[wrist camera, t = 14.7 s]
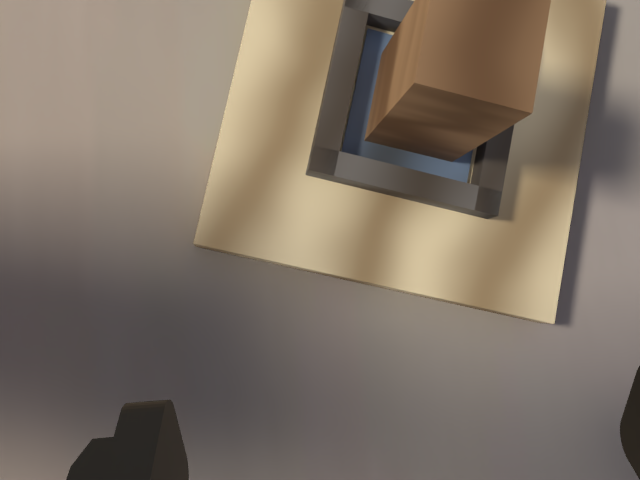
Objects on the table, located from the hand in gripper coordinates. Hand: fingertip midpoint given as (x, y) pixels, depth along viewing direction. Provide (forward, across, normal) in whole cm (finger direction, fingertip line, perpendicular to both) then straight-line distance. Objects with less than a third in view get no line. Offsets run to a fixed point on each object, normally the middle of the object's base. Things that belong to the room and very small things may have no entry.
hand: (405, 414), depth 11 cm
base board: (+22, -4, +3) cm, 23 cm away
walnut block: (+21, -4, +2) cm, 22 cm away
